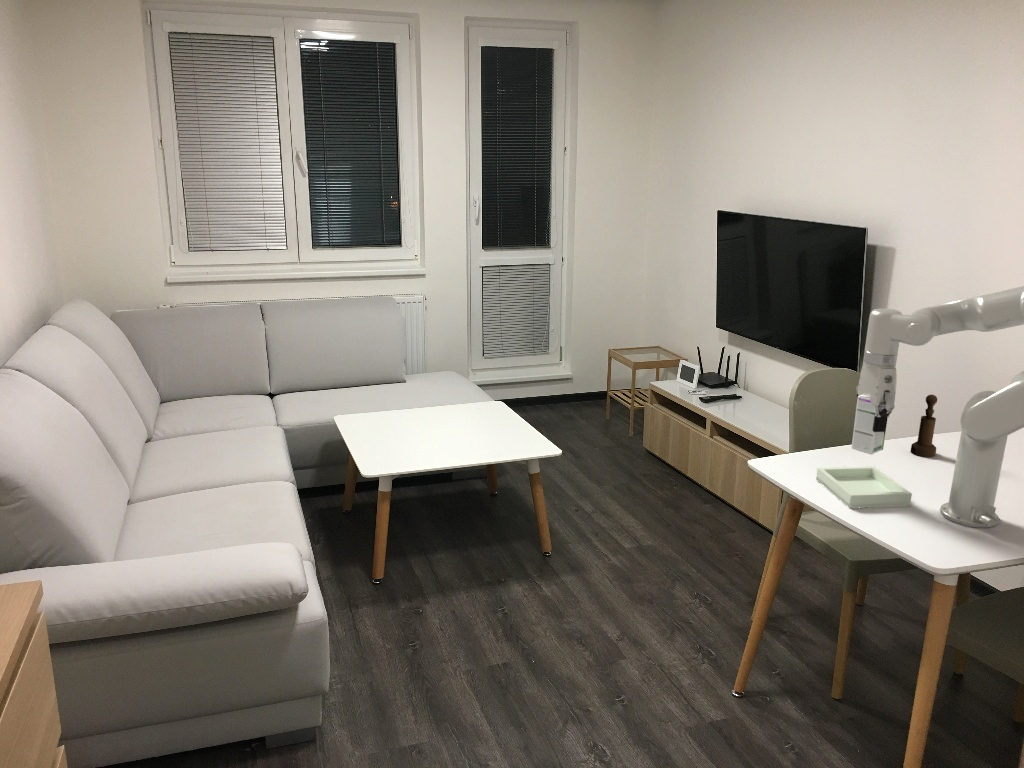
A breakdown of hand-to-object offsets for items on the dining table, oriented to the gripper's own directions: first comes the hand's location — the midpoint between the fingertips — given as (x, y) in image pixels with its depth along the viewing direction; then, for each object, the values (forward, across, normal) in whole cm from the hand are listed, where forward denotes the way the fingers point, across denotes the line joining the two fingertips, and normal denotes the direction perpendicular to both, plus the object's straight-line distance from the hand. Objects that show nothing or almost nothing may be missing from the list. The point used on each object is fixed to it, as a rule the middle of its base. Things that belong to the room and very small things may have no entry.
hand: (870, 425), depth 208 cm
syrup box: (+7, 0, 0) cm, 7 cm away
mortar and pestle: (+19, +26, -33) cm, 46 cm away
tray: (+18, 0, 0) cm, 18 cm away
